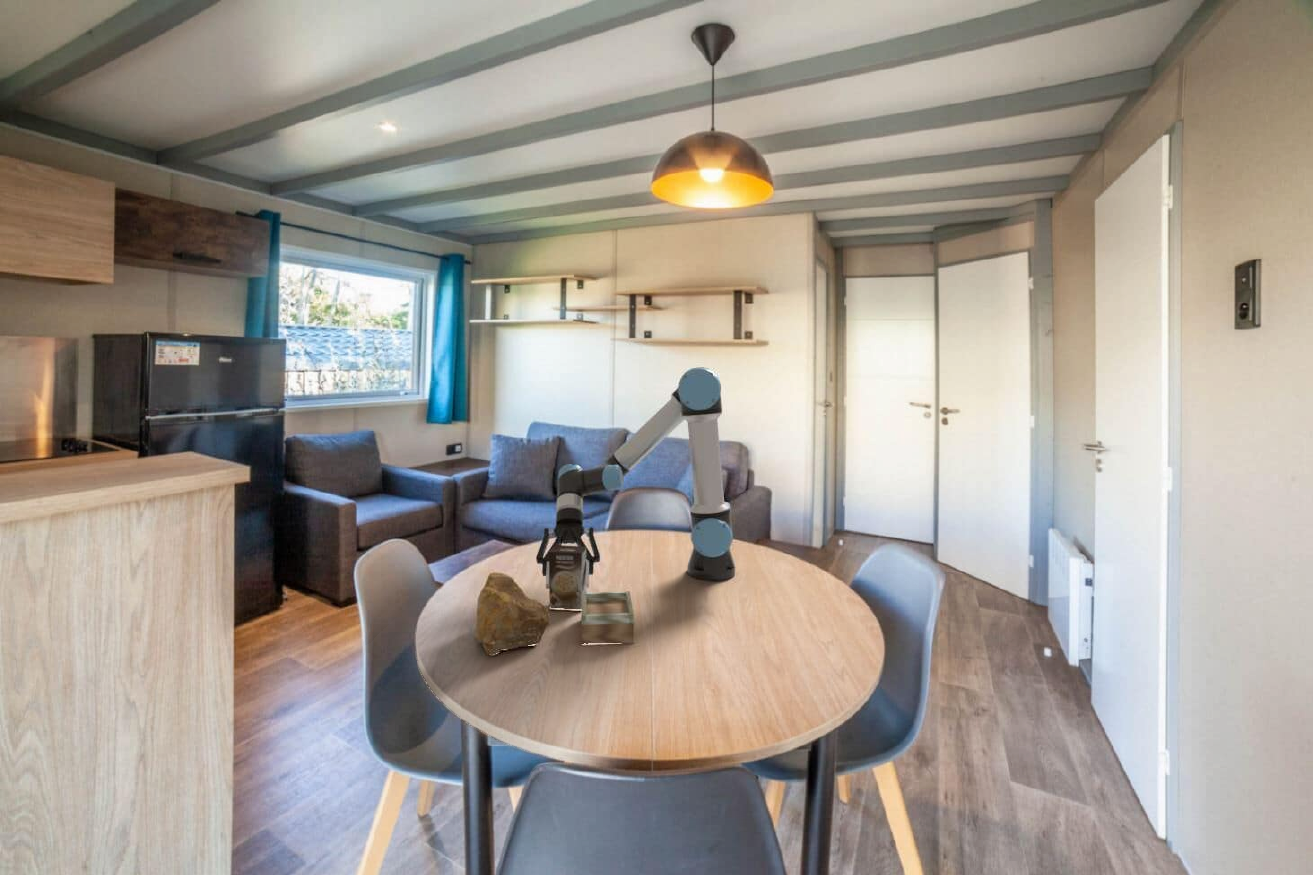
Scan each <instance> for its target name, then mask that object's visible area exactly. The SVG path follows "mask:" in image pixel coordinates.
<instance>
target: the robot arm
mask: <svg viewBox="0 0 1313 875" xmlns="http://www.w3.org/2000/svg"><path fill="white" fill-rule="evenodd" d="M721 394H722V384H721V381H720V379H719V377H718V375H717V374H716V373H715V372H714V371H713V370H712V369H709V368H708V367H704V366H703V367H702V366H700V367H699V366H696V367H693V368H690V369H688V370H687V371H685V372H684V373H683V375H682V376H681V377H680V379H679V381H678V385H677V388H676V389H675V390H674V391H673V392H672V393H671V394H670V399H669V400H668V401H667V402H666V403H665V404H664V405H663V406H662V407H661V408H660V409H659V410H658V411H657V412H655V414H654V415H653V416H651V418H649V419H648V420H647V421H646V422H645V424H643V425H642V426H641V427H640V428H639V429H638V430H637V431H636V432H635V433H634V434H633V435H632V436H631V437H629V439H627V440H626V441H625V442H624V443H623V444H622V445H621V446H620V447H619V448H618V449H617V450H616V451H614V453H613V454H612V455H611V456H610V457H609V458H607V459H606V460H605V461H604V462H602V463H601V465H600V466H598V467H595V468H594V467H593V468H589V469H583V468H582V467H581V466H579V465H578V464H571V463H570V464H566V465H563V466H562V467H561V468H560V469H559V470H558V476H557V495H556V496H557V498H556V516H555V527H554V528H552V529H549V528H548V527H545V528H544V531H543V532H544V534H543V535H544V536H543V538H542V541H541V543H540V546H539V549H538V552H537V554H536V556H535V559H536V560H535V561H536V563H537V564H538V565H540V564H541V565H542V569H541V573H542V576H543V577H545V589H546V590H549V551H550V550H551V549H552V548H553V547H554V546H555V545H566V544H572V545H573V544H576V546H583V547H586V589H588V588H590V575H594V564H595V563H599V562H600V561H601V556H600V555H601V554H600V551H599V548H598V545H597V542H596V539H595V536H594V534H595V532H594V527H592V526H591V527H589V528H585V527H584V525H583V524H584V520H583V519H584V514H583V512H584V496H590V495H594V494H601V493H608V492H614V491H617V490H621V489H623V487H624V483H625V482H624V477H626V475H627V474H629V473H630V471H631V470H632V469H633V468H635V466H637V464H639V463H640V462H641V461H643V459H644V458H645V457H646V456H647V455H649V454H650V453H651V452H652V451H653V449H655V448H656V447H657V446H658V445H659V444H660V443H661V442H662V441H664V439H665V438H667V437H668V436H669V435H670V434H671V433H672V432H673V431H674V430H675V429H676V428H678V426H680V425H681V424H682V423H683V422H684V421H686V422H687V430H688V432H687V433H688V442H689V443H688V444H689V455H690V465H691V476H692V477H691V478H692V479H691V480H692V486H693V487H692V490H693V500H694V502H693V505H692V506H691V507H690V509H689V513H690V514H689V516H690V525H691V532H690V540H691V543H692V545H693V546H692V551H691V555H690V556H689V560H688V563H687V574H688V575H689V576H691V577H692V578H694V579H695V578H696V579H699V580H704V581H723V580H729V579H731V578H733V577H734V576H735V575H736V564H735V562H734V558H733V555H732V552H731V546H732V543H733V541H734V540H733V539H734V533H733V528H732V518H731V517H732V516H731V514H732V508H731V506H732V505H731V504H730V503H729V502H727V501H725V497H724V485H723V484H724V483H723V471H722V461H721V448H720V446H721V445H720V434H719V425H718V424H719V422H718V419H719V418H720V416H721V415H722V414H723V406H722V395H721ZM584 534H585V535H586V537H587V538H588V541H589V544H590V547H591V550H592V551H591V552H592V553H591V552H590V550H589V549H588V547H587V546H586V544H585V542H584V541H583V539H582V537H583V535H584ZM553 535H555V537H556V538H555V540H554V542H553V543H552V544H551V546H550V548H549V549H548V551H547V552H546V550H547V547H548V544H549V541H550V539H551V538H552V537H553ZM592 554H593V555H592Z"/></svg>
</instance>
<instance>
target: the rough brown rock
mask: <svg viewBox="0 0 1313 875" xmlns="http://www.w3.org/2000/svg"><path fill="white" fill-rule="evenodd" d="M549 624H550V615H549V609H548V608H547V607H546V606H545V605H544V604H543V603H541V602H540V601H539V600H537V599H532V598H529V596H527V595H526V594H525V593H524V591H523V589H522V588H521V587H520V586H519V584H517V582H515V580H514V579H513V577H511V576H510V575H509V574H506V573H502V572H495V571H494V572H491V573H489V574H488V576H487V578H486V581H485V584H484V586H483V588H482V589H481V590H480V593H479V594H478V597H477V608H476V625H475V634H474V640H475V642H476V643H477V644H478V643H479V644H482V645H483V648H484V651H485V652H486V653H487V655H488V654H491V655H493V654H496V653H498V652H500V653H501V652H502V650H501V649H511V650H514V649H518V648H519V646H520V647H526V646H528V645H532V644H537V643H539V644H540V642H541V641H542V637H543V634H544V632H545V631H546V630H547V628H548V626H549ZM513 648H514V649H513Z"/></svg>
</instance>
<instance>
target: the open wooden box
mask: <svg viewBox="0 0 1313 875" xmlns="http://www.w3.org/2000/svg"><path fill="white" fill-rule="evenodd" d="M631 595H632V594H631V591H630V590H622V591H597V592H596V591H595V592H594V591H593V592H591V591H590V592H587V591H586V593H583V594H582V612H581V614H580V615H581V618H580V620H581V622H580V623H581V625H580V628H581V630H580V631H581V633H580V634H581V641H580V642H581V644H584V643H586V644H588V643H634V644H635V640H634V638H635V637H634V636H635V630H634V629H635V615H634V614H635V612H634V607H633V603H632V602H633V601H632V596H631Z"/></svg>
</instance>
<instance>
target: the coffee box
mask: <svg viewBox="0 0 1313 875" xmlns="http://www.w3.org/2000/svg"><path fill="white" fill-rule="evenodd" d="M586 547H587V546H586ZM586 547H583V546H577V545H564V544H562V545H555V546H554V547H553V548H552V549H551V550H550V551H549V550H548V551H549V589H548V590H549V591H548V592H549V596H548V601H549V606H548V607H551V608H564V609H582V594H583V593H587V588H586V561H587V559H586Z"/></svg>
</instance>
